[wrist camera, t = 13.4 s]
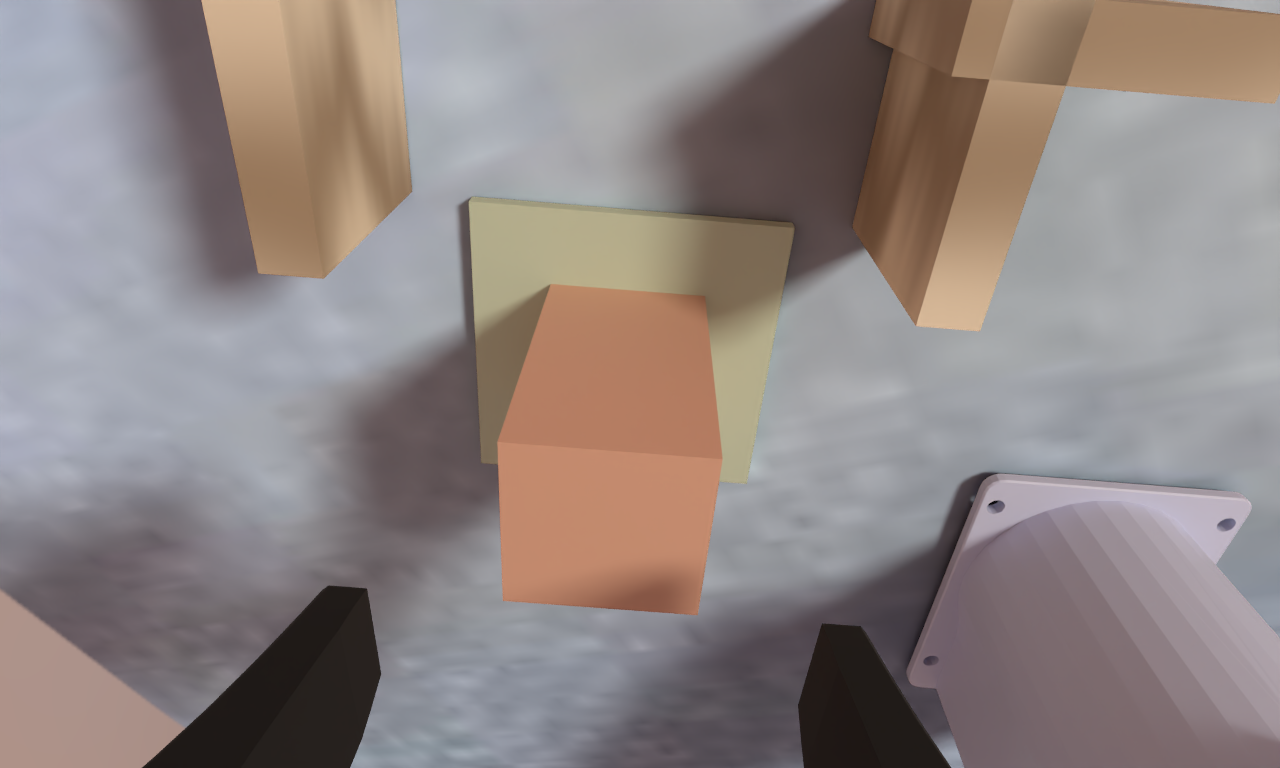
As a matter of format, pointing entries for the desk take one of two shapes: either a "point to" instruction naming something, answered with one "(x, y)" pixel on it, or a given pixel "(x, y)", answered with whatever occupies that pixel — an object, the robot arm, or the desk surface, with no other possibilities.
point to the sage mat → (628, 260)
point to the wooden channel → (898, 159)
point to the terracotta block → (611, 454)
